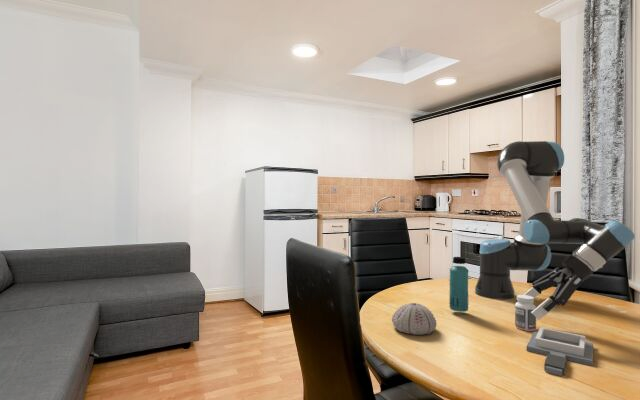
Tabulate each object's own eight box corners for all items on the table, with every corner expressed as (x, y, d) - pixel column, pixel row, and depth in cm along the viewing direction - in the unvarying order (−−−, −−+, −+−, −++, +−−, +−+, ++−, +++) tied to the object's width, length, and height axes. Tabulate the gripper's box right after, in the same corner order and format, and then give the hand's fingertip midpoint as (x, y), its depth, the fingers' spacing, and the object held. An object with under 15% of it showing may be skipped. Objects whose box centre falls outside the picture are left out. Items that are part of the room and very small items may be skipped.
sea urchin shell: (435, 340, 102) (435, 312, 102) (388, 334, 107) (388, 307, 107) (437, 325, 115) (437, 300, 115) (394, 320, 119) (395, 296, 119)
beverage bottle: (469, 312, 129) (469, 256, 129) (468, 317, 123) (468, 259, 123) (449, 309, 131) (450, 254, 131) (448, 314, 125) (448, 257, 125)
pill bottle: (533, 326, 114) (533, 295, 114) (538, 332, 109) (538, 300, 109) (513, 324, 116) (513, 293, 116) (516, 330, 111) (517, 298, 111)
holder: (519, 365, 87) (519, 352, 87) (534, 335, 107) (534, 324, 107) (591, 384, 78) (591, 369, 78) (593, 347, 98) (593, 335, 98)
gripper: (616, 281, 95) (552, 333, 99) (573, 265, 120) (523, 307, 123) (593, 260, 97) (531, 312, 100) (555, 249, 121) (507, 290, 124)
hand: (527, 309), depth 112 cm, fingers open, 13 cm apart
